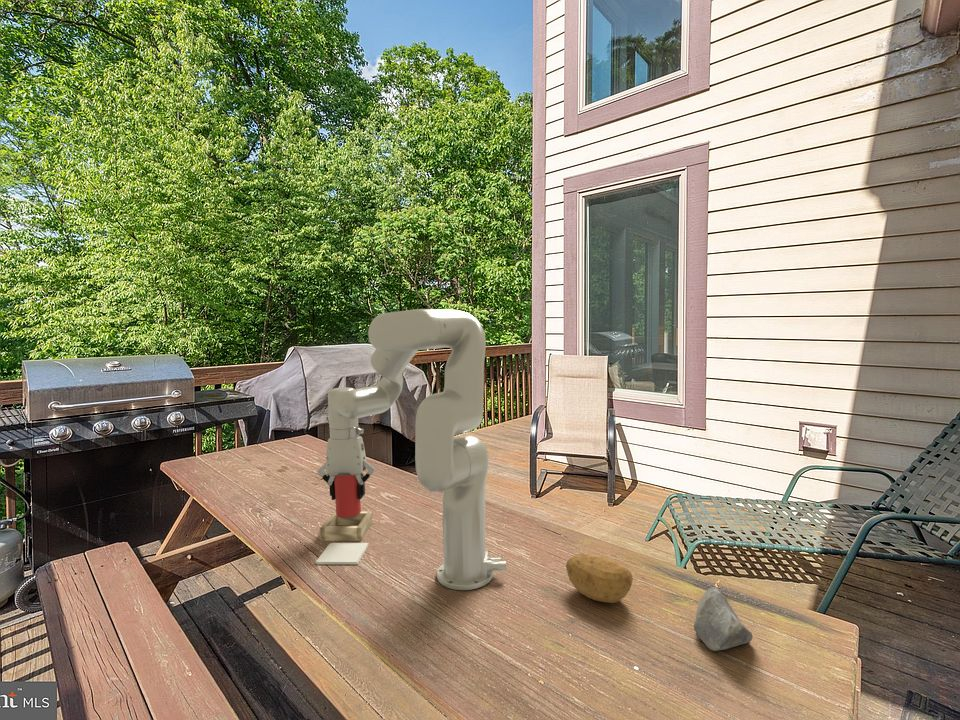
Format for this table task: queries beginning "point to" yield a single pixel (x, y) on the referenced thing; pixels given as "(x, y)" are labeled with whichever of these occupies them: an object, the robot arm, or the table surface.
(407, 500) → the table surface
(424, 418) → the robot arm
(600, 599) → the potato
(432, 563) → the table surface
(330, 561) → the coaster
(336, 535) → the frame
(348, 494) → the beer can
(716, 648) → the stone
